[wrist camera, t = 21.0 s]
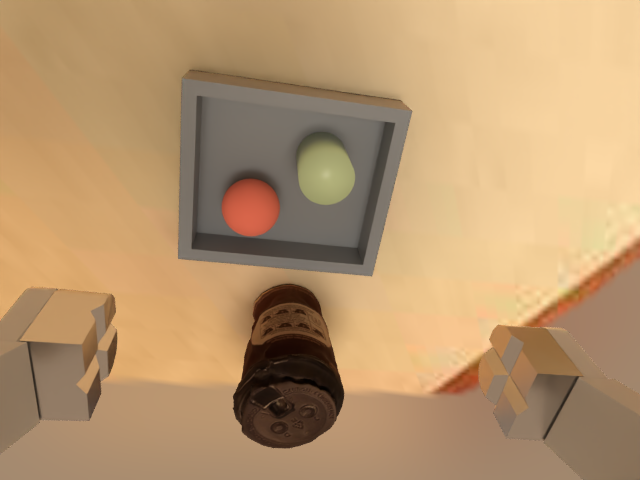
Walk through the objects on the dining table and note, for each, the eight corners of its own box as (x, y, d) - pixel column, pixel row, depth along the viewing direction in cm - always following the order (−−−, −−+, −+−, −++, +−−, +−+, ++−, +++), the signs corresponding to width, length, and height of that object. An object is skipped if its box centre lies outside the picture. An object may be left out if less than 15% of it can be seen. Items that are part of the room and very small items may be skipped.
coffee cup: (241, 269, 43) (229, 372, 32) (332, 270, 44) (352, 371, 33) (243, 344, 47) (232, 460, 36) (326, 344, 48) (342, 456, 37)
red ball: (227, 166, 38) (219, 188, 34) (283, 173, 38) (282, 196, 34) (224, 216, 40) (215, 243, 36) (277, 223, 40) (275, 250, 37)
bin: (185, 238, 41) (178, 258, 38) (190, 69, 35) (181, 78, 32) (365, 255, 43) (372, 276, 40) (400, 100, 37) (412, 111, 34)
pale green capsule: (300, 128, 37) (303, 147, 32) (350, 135, 37) (360, 155, 33) (292, 176, 39) (294, 201, 34) (341, 183, 39) (349, 208, 35)
